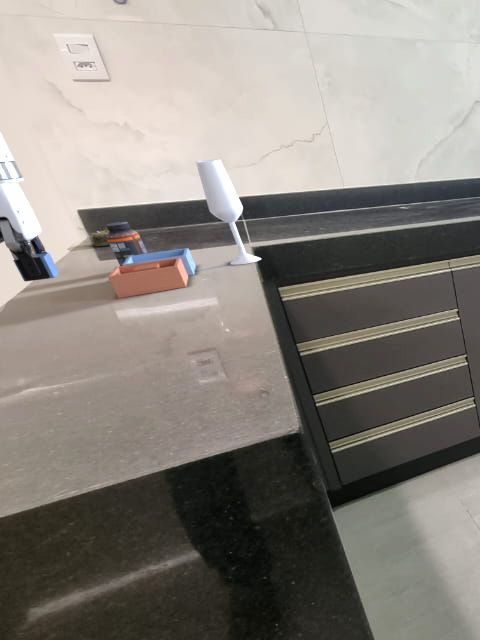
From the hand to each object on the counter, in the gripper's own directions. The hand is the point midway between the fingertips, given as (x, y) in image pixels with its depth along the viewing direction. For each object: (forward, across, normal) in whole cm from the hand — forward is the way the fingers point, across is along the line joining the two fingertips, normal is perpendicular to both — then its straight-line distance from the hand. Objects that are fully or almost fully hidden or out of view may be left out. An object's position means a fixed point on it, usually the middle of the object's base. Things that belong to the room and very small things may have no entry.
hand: (41, 275), depth 99 cm
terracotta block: (+6, -9, +14) cm, 18 cm away
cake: (+8, -83, -1) cm, 83 cm away
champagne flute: (+7, -22, +31) cm, 38 cm away
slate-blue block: (0, 0, 0) cm, 0 cm away
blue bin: (+7, -20, +15) cm, 26 cm away
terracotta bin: (+7, -9, +14) cm, 18 cm away
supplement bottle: (+8, -33, +9) cm, 35 cm away
